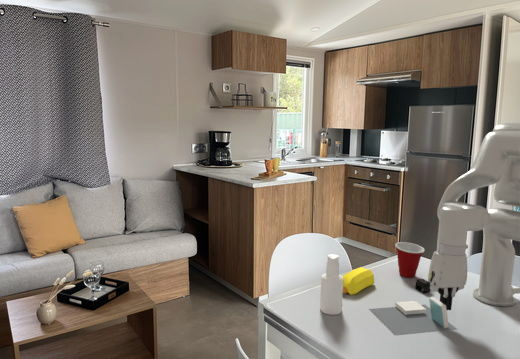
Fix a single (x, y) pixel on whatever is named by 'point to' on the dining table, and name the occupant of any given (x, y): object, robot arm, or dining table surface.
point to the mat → (408, 321)
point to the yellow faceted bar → (357, 280)
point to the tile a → (410, 307)
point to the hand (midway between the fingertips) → (445, 308)
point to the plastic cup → (408, 258)
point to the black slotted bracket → (422, 285)
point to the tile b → (438, 312)
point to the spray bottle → (331, 287)
